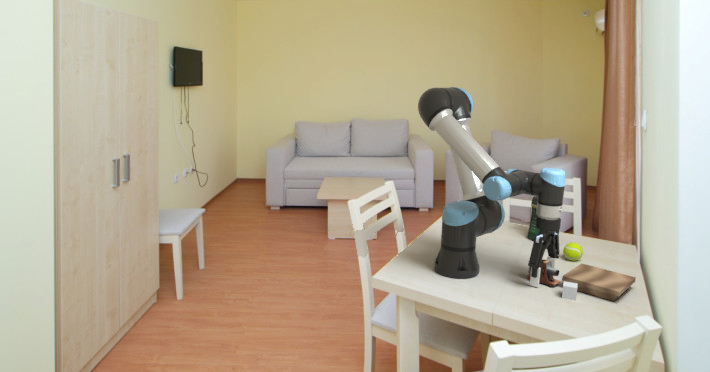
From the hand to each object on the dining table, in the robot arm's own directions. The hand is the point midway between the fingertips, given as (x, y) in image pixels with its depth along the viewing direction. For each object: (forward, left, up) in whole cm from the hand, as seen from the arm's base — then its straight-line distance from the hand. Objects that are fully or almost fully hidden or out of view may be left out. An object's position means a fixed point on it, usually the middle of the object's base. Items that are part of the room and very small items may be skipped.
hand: (542, 281), depth 171 cm
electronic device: (+1, 0, -1) cm, 1 cm away
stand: (+15, +8, 0) cm, 17 cm away
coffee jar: (-20, +43, 0) cm, 47 cm away
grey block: (+11, -5, 0) cm, 12 cm away
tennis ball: (-1, +28, 0) cm, 28 cm away
